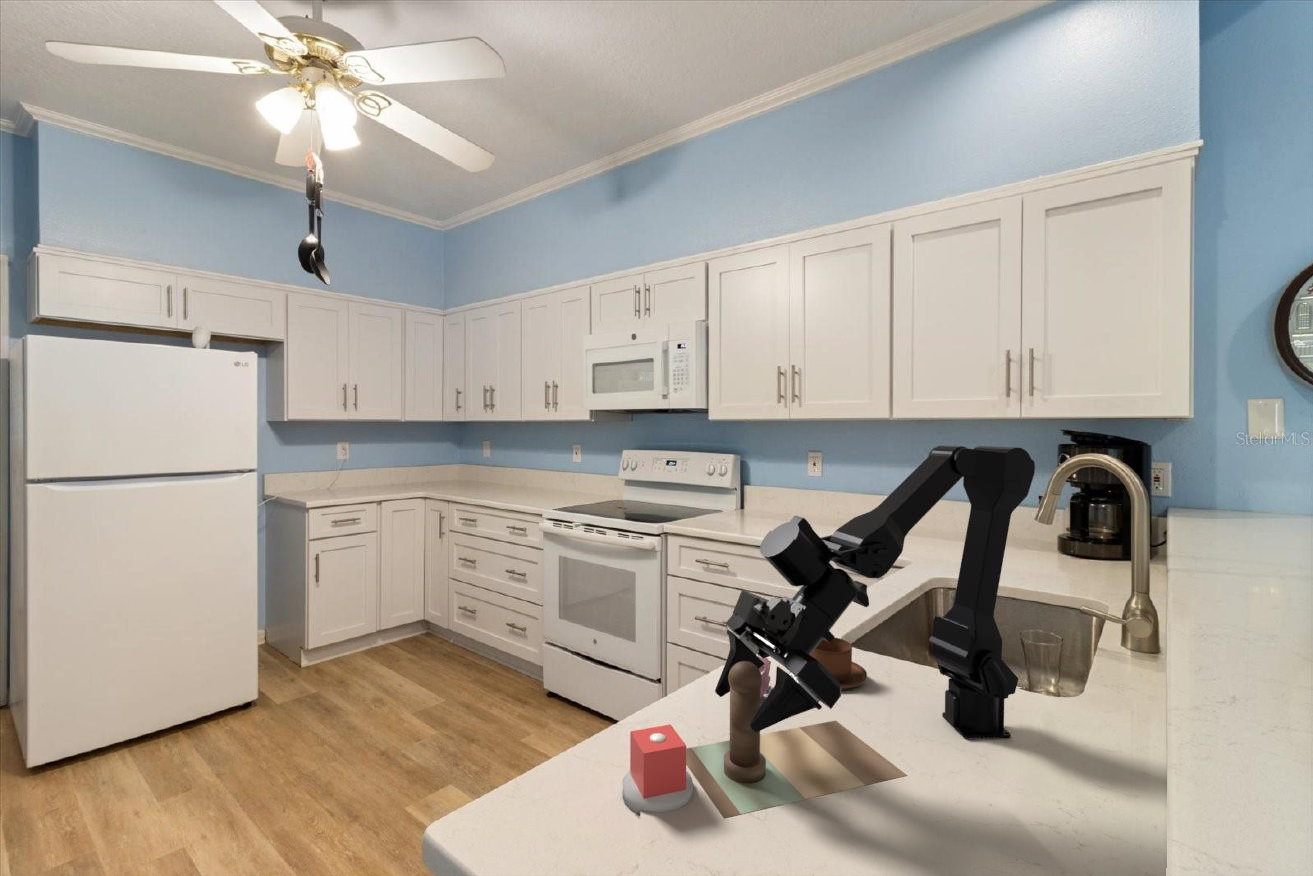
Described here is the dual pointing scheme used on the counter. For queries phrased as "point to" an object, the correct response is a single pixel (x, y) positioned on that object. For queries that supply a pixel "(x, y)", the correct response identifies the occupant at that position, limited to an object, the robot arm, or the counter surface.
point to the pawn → (744, 725)
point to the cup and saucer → (840, 662)
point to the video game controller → (765, 676)
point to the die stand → (657, 771)
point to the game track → (791, 768)
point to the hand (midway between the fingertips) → (733, 711)
